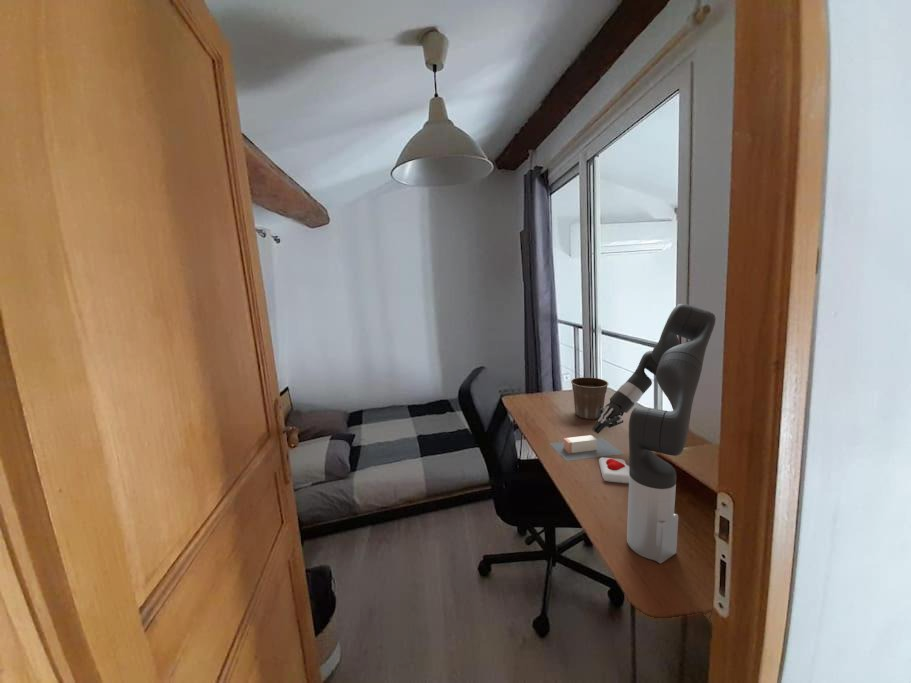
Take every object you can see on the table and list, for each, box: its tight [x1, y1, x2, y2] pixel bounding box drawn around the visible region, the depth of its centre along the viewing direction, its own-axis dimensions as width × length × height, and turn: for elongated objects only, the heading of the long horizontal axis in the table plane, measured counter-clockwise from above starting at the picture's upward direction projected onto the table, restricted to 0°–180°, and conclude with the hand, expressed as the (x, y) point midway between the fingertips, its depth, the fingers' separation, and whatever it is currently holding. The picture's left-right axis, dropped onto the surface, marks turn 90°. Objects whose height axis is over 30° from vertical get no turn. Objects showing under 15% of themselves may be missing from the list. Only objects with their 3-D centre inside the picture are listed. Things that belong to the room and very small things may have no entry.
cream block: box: [563, 434, 597, 453], centre depth 128 cm, size 4×4×11 cm
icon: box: [598, 456, 629, 484], centre depth 112 cm, size 12×4×10 cm
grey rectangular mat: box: [549, 437, 625, 462], centre depth 129 cm, size 22×14×1 cm, turn 99°
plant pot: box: [570, 376, 609, 420], centre depth 161 cm, size 16×16×16 cm
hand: (594, 431), depth 128 cm, fingers closed
